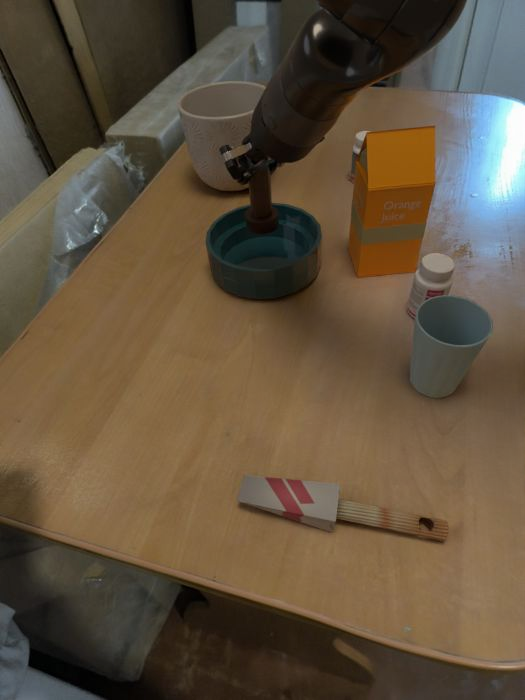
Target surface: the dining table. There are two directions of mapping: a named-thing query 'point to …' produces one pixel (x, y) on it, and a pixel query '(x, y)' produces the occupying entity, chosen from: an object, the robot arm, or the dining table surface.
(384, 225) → the orange juice
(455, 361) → the cup
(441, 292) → the pill bottle
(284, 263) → the bowl
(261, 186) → the grey brown flanged cylinder
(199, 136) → the planter
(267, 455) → the dining table surface
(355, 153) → the pill bottle
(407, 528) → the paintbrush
